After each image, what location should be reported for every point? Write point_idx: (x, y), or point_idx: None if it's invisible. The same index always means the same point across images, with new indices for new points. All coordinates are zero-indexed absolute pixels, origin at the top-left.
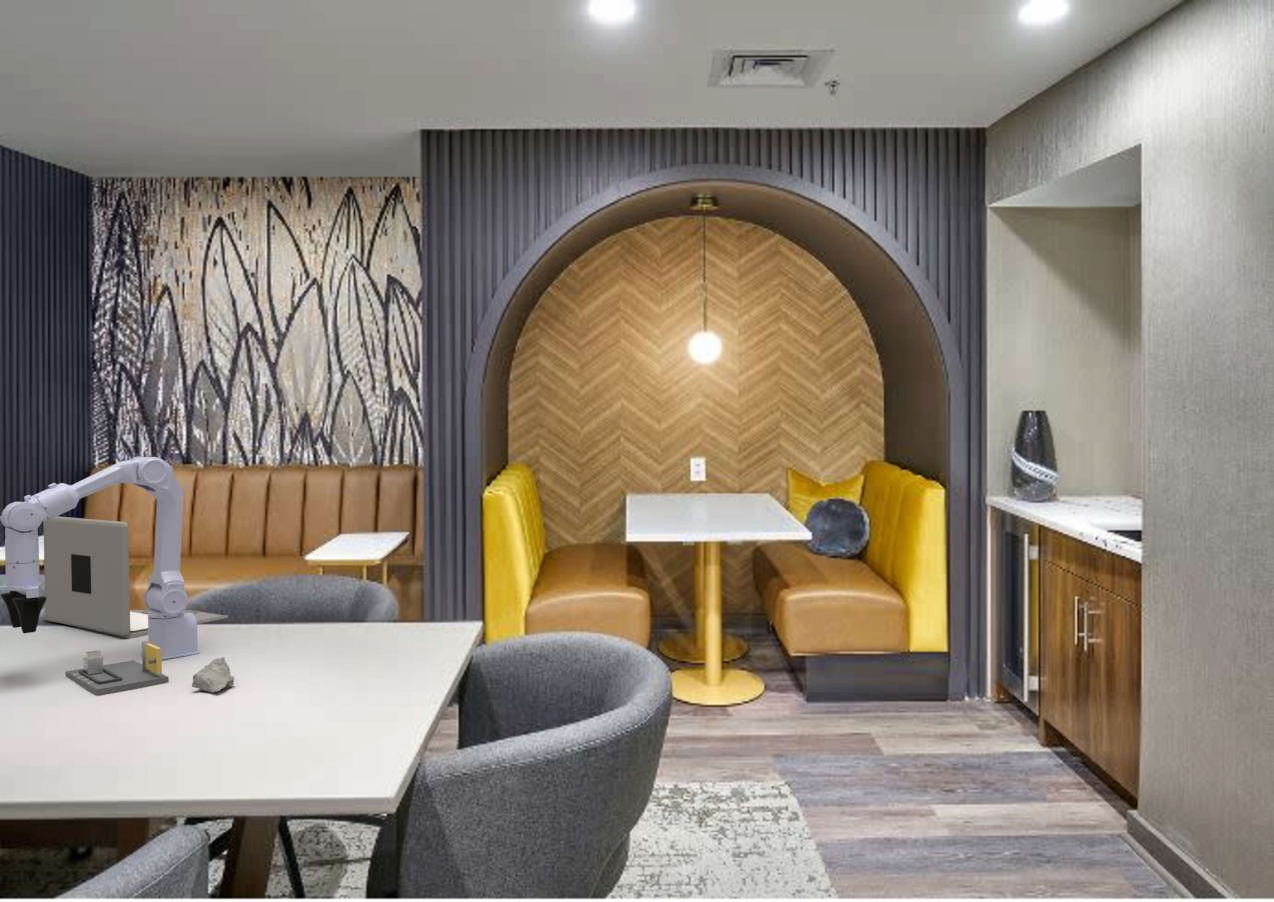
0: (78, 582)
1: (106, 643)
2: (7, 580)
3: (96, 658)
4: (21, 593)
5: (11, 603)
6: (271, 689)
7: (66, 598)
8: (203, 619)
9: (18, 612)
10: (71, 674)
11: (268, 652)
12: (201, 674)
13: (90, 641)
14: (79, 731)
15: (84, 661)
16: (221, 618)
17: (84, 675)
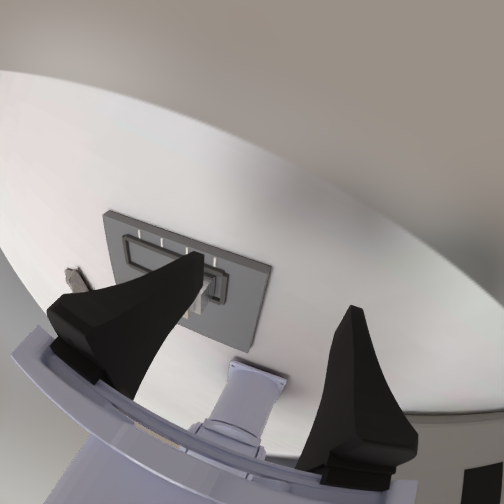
0: (489, 477)
1: (426, 407)
2: (115, 499)
3: None
4: (195, 435)
5: (344, 403)
6: (67, 293)
7: None
8: None
9: (137, 294)
10: (227, 260)
11: (193, 395)
12: (69, 285)
13: (457, 405)
14: (23, 131)
15: (202, 289)
16: None
17: None
